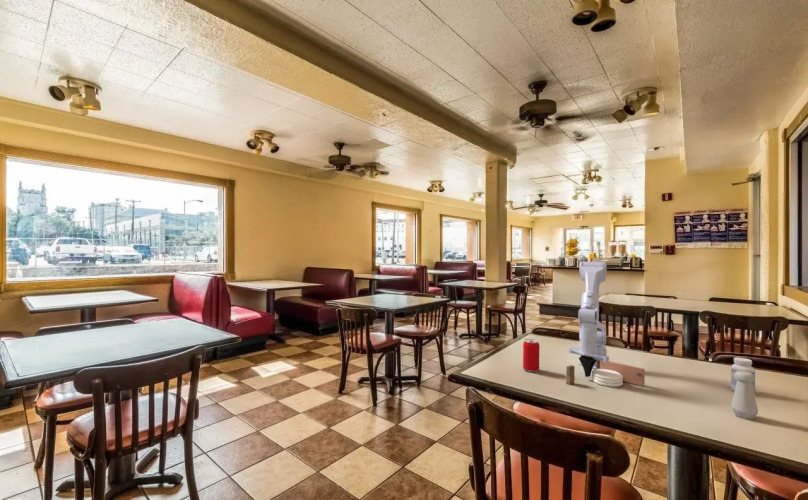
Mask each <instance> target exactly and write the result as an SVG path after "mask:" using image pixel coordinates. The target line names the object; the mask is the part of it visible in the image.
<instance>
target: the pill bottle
mask: <svg viewBox="0 0 808 500" xmlns="http://www.w3.org/2000/svg"><path fill="white" fill-rule="evenodd" d="M752 365H753V361H752V360H751V359H749V358H744V357H733V364H732V365H731V366H730V377H731V378H730V387H731V390H732V391H734V392H735V388H736V384H737V379H735V372H737V371H744V372H749V373H751V374H753V375H754V376H755V377H756V370H755V368H754V367H753V366H752ZM752 385H753V389H754V394H756V380H755V381H754V382H752Z"/></svg>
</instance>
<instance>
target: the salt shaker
mask: <svg viewBox="0 0 808 500" xmlns="http://www.w3.org/2000/svg"><path fill="white" fill-rule="evenodd" d="M735 379H737V384H736V388H735V391H734V393H733V397H732V401H731V403H730V407H731V410H732V411H733V412H734V414H735V416H736V417H737V418H740V419H743V420H749V421H753V420H754V419H755V418H756V416H758V413H759V409H758V403H757V400H756V399H757V398H756V395H755V394H756V393H755V394H754V389H753V385H752V382H754V381H755V382H756V375H755V376H754V375H753V374H751V373H749V372H744V371H737V372H735Z"/></svg>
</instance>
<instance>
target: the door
mask: <svg viewBox="0 0 808 500" xmlns="http://www.w3.org/2000/svg"><path fill="white" fill-rule="evenodd" d="M600 369H607V370H612V371H616V372H618V373H620V374H621V375H622V376H623V382H626V383H629V384H632V385H633V384H634V385H637V386H641V387H644V386H645V384H646V382H645V378H646V377H645V375H646V374H645V373H646V369H645V368H644V367H638V366H634V365H629V364H625V363H620V362H614V361H610V360H609V362H603V361H600Z"/></svg>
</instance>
